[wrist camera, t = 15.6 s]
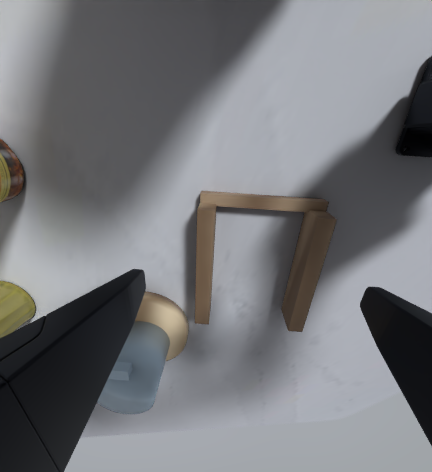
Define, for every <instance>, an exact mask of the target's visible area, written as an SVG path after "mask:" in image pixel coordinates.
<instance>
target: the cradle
mask: <svg viewBox="0 0 432 472" xmlns="http://www.w3.org/2000/svg"><path fill="white" fill-rule="evenodd" d="M328 203H329V202H328V201H326V200H324V199H314V198H299V197H284V196H270V195H255V194H240V193H225V192H210V191H201V193H200V204H199V207H198V209H197V245H196V294H195V323H197V324H209V316H210V306H211V292H212V275H213V258H214V241H215V224H216V207H217V206H222V207H237V208H251V209H266V210H280V211H295V212H304V217H303V221H302V225H301V229H300V233H299V237H298V242H297V246H296V250H295V254H294V258H293V263H292V267H291V271H290V275H289V279H288V284H287V288H286V292H285V296H284V300H283V304H282V309H281V310H282V313H283V316H284V319H285V322H286V326H287V329H288V331H297V332H302V331H303V328H304V324H305V321H306V318H307V315H308V312H309V308H310V305H311V302H312V299H313V295H314V292H315V289H316V286H317V282H318V279H319V276H320V273H321V270H322V266H323V263H324V260H325V257H326V253H327V250H328V247H329V244H330V240H331V237H332V234H333V231H334V228H335V224H336V221H337V219H336V218H334V217H333V216H332V215H330V214H329V213H328V212H326V210H327V207H328Z"/></svg>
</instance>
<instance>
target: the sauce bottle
mask: <svg viewBox="0 0 432 472" xmlns="http://www.w3.org/2000/svg"><path fill="white" fill-rule="evenodd" d="M23 174H24V171H23V170H22V165H21V163H20V162H19V160H18V158H17V157H16V155H15V153H14V152H13V151H12V150H11V149H10V148H9V147H8V145H7V144H6V143H5V142H4V141H3V140H2V139H0V202H3V201H6V200H10V199H12V198H13V197H15V196H17V195H18V194H19V193H20V191H21V190H22V187H23V182H24V175H23Z"/></svg>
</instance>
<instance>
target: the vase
mask: <svg viewBox="0 0 432 472" xmlns="http://www.w3.org/2000/svg"><path fill="white" fill-rule="evenodd" d="M34 313H35V304H34V302H33V300H32V298H31V297H30V295H29V294H28V293H27V292H25V291H24V290H23V289H22V288H20V287H18V286H16V285H14V284H12V283H9V282H5V281H0V338H2V337H4V336H6V335H8V334H10V333H12V332H14V331H15V330H16V329H17V328H19V327H20V326H21V325H22V324H23V323H25V322H26V321H27V320H29V319H30V318H32V317H33V315H34Z"/></svg>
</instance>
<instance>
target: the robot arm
mask: <svg viewBox="0 0 432 472" xmlns="http://www.w3.org/2000/svg"><path fill="white" fill-rule="evenodd" d="M404 146H406V149H405V151H403V148H404ZM396 153H397V154H398V155H404V156H420V157H432V56H431V58H430V60H429V62H428V65H427V67H426V70H425V73H424V75H423V78H422V81H421V83H420V85H419V87H418V89H417V92H416V94H415V97H414V100H413V102H412V105H411V108H410V110H409V113H408V116H407V118H406V121H405V126H404V128H403V131H402V134H401V136H400V139H399V142H398V144H397V147H396ZM145 289H146V284H145V275H144V271H143V270H140V269H132V270H130V271H128V272H127V273H125V274H123V275H121V276H119V277H117V278H115V279H113V280H111V281H110V282H108V283H106V284H104V285H102V286H100V287H98V288H96V289H94V290H92V291H91V292H89V293H87V294H85V295H83V296H81V297H79V298H77V299H75V300H74V301H72V302H70V303H68V304H66V305H64V306H62V307H60V308H58V309H56V310H55V311H53V312H51V313H49V314H47V315H46V316H43V317H41V318H39V319H37V320H36V321H34V322H32V323H30V324H28V325H26V326H24V327H22V328H20V329H18V330H16V331H14V332H12V333H10V334H8V335H6V336H4V337H2V338H0V472H64V470H65V468H66V466H67V464H68V462H69V460H70V458H71V455H72V453H73V451H74V449H75V447H76V445H77V443H78V441H79V439H80V437H81V434H82V432H83V430H84V428H85V426H86V424H87V422H88V420H89V418H90V416H91V413H92V411H93V409H94V407H95V405H96V403H97V401H98V399H99V397H100V395H101V392H102V390H103V388H104V386H105V384H106V382H107V380H108V378H109V376H110V374H111V371H112V369H113V367H114V365H115V363H116V361H117V359H118V357H119V355H120V353H121V350H122V348H123V346H124V344H125V342H126V340H127V338H128V336H129V334H130V332H131V329H132V327H133V325H134V322H135V319H136V317H137V314H138V311H139V308H140V305H141V302H142V299H143V296H144V293H145ZM360 308H361V311H362V313H363V315H364V318H365V320H366V322H367V325H368V327H369V329H370V331H371V334H372V336H373V338H374V341H375V343H376V345H377V347H378V349H379V351H380V353H381V355H382V356H383V358H384V360H385V362H386V364H387V365H388V367H389V369H390V371H391V373H392V375H393V376H394V378H395V380H396V382H397V384H398V386H399V387H400V389H401V391H402V393H403V395H404V396H405V398H406V400H407V402H408V404H409V405H410V407H411V409H412V411H413V413H414V415H415V416H416V418H417V420H418V422H419V424H420V426H421V427H422V429H423V431H424V433H425V435H426V437H427V438H428V440H429V442H430V444H431V445H432V313H430V312H428V311H426V310H424V309H422V308H420V307H418V306H416V305H414V304H412V303H410V302H408V301H406V300H404V299H402V298H400V297H398V296H396V295H394V294H392V293H390V292H388V291H386V290H384V289H382V288H380V287H368V288H367V289H366V291H365V293H364V295H363V298H362V300H361V302H360Z"/></svg>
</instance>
